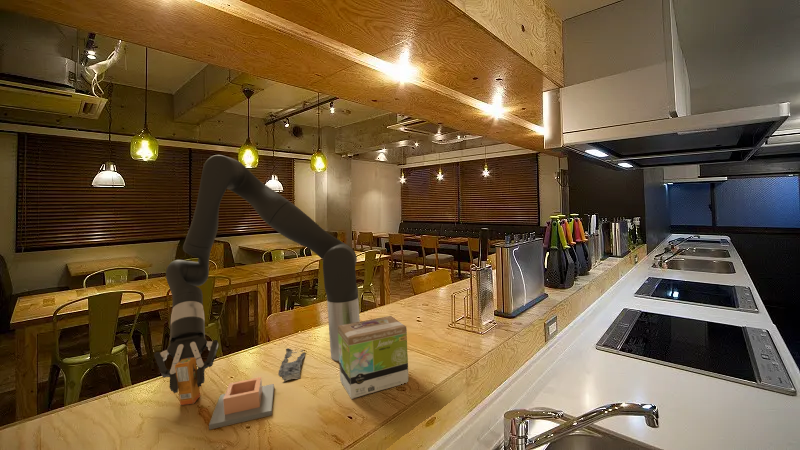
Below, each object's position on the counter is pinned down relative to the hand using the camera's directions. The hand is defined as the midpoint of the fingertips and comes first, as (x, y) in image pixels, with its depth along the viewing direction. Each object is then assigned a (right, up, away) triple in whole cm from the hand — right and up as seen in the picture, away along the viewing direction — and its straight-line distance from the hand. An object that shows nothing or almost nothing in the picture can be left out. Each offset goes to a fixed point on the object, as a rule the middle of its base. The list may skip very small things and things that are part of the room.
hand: (187, 388), depth 77 cm
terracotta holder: (+14, -2, -2) cm, 14 cm away
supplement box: (-1, -4, +2) cm, 5 cm away
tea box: (+43, -2, +6) cm, 44 cm away
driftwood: (+19, -3, +19) cm, 27 cm away
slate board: (+14, -3, -2) cm, 15 cm away
